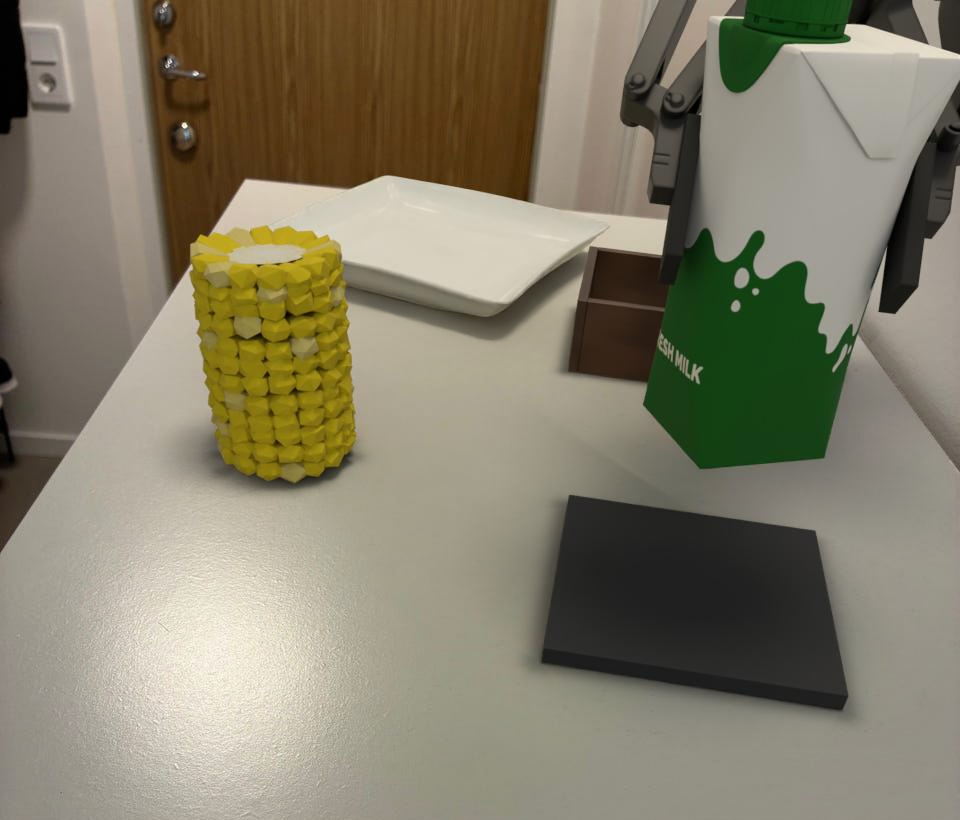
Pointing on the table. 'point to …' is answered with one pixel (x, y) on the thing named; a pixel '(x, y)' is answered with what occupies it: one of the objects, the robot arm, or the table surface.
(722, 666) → the mat
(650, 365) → the crate
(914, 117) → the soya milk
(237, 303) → the food
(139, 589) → the table surface
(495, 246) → the square plate
